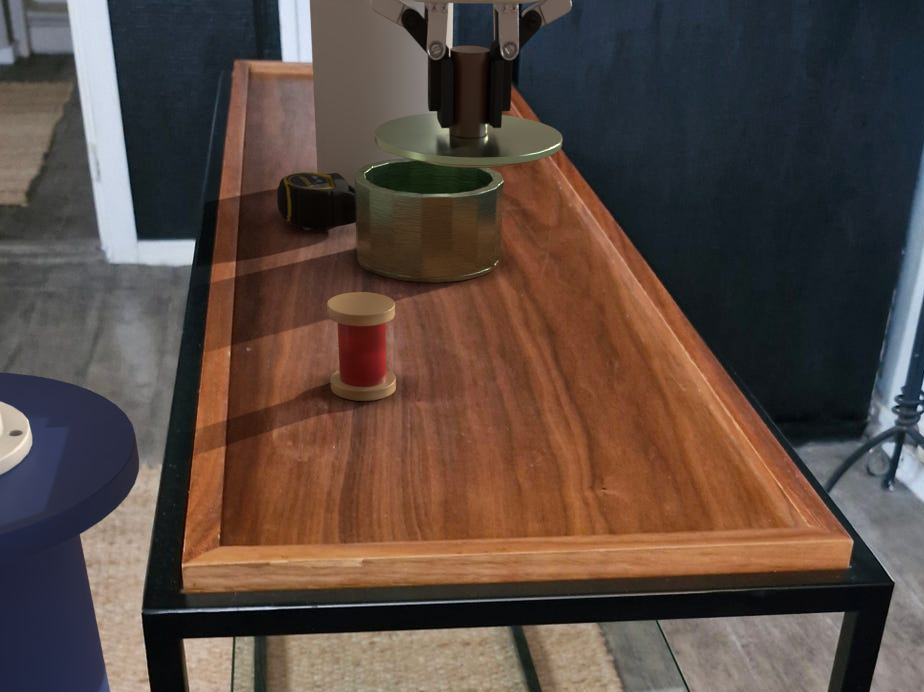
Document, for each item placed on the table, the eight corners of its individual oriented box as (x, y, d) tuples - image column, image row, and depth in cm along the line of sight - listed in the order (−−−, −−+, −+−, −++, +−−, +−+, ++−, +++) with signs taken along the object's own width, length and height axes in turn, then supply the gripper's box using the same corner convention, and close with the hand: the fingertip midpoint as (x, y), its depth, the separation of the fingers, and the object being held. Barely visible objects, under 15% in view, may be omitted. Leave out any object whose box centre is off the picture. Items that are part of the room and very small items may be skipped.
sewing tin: (362, 283, 95) (359, 197, 91) (353, 238, 104) (351, 157, 100) (509, 281, 96) (513, 196, 93) (488, 237, 105) (490, 157, 101)
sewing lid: (382, 176, 77) (379, 68, 73) (368, 129, 87) (366, 31, 83) (578, 175, 78) (585, 69, 75) (543, 128, 88) (548, 32, 84)
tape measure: (366, 234, 105) (365, 188, 103) (288, 239, 103) (285, 192, 101) (347, 212, 110) (345, 167, 108) (271, 216, 108) (268, 171, 106)
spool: (332, 402, 77) (328, 315, 74) (329, 376, 81) (325, 292, 77) (398, 400, 78) (397, 314, 74) (393, 374, 81) (392, 291, 78)
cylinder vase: (429, 169, 122) (432, -136, 107) (465, 204, 113) (474, -124, 98) (306, 174, 119) (290, -139, 104) (333, 211, 110) (320, -127, 95)
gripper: (599, -223, 74) (576, 110, 85) (330, -232, 72) (343, 111, 83) (628, -221, 68) (599, 137, 80) (336, -231, 66) (350, 137, 77)
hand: (468, 120), depth 81 cm, fingers closed on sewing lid, 2 cm apart
